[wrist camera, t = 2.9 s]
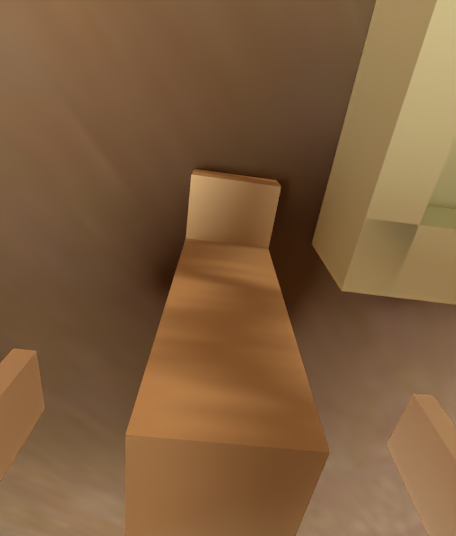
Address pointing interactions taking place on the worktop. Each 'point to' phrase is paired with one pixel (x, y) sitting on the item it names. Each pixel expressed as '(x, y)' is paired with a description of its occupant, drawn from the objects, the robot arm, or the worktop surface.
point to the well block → (397, 161)
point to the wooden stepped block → (224, 384)
